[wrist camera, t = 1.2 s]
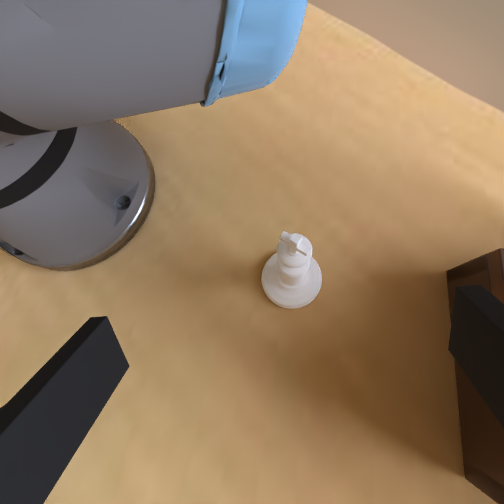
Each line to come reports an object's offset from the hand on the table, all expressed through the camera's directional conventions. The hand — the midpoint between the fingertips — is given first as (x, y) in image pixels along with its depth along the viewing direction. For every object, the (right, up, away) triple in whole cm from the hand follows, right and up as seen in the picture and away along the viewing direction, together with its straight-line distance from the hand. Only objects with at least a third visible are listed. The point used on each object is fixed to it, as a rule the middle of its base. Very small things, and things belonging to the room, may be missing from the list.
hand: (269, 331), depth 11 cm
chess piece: (+3, +1, +13) cm, 13 cm away
